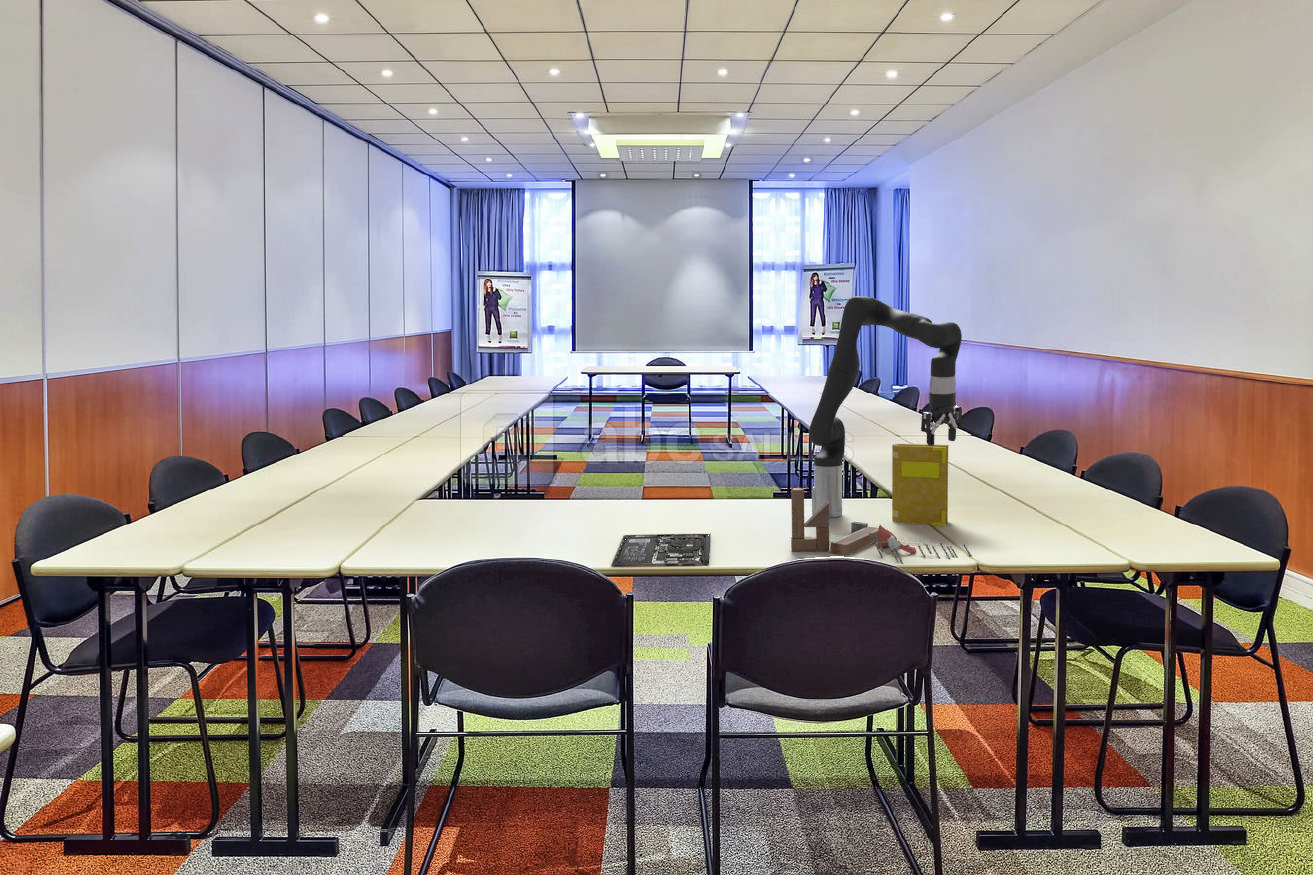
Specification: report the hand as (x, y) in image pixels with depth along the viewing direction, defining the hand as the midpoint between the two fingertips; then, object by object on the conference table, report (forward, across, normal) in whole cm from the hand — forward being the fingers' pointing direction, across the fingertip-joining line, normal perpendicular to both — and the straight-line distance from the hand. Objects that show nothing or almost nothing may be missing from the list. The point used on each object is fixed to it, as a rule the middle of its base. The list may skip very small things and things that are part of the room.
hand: (941, 443), depth 281 cm
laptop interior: (+26, +82, -28) cm, 90 cm away
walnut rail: (+26, +32, -3) cm, 42 cm away
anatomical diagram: (+26, +24, +17) cm, 39 cm away
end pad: (+27, +32, -10) cm, 43 cm away
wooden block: (+25, +46, -4) cm, 53 cm away
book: (+30, -4, -13) cm, 33 cm away
